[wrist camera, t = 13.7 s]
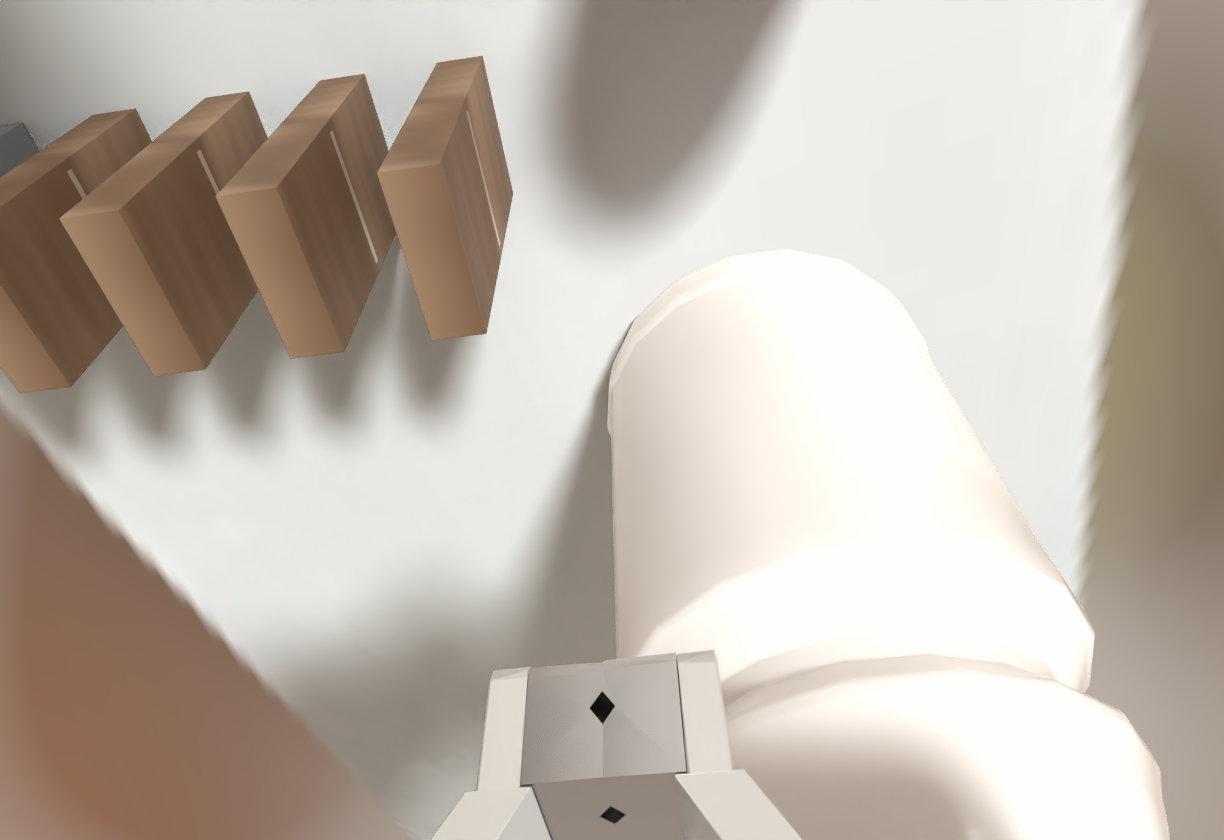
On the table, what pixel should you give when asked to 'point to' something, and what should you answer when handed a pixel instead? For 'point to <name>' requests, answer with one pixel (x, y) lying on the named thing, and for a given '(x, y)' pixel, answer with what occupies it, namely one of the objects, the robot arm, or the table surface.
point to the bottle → (854, 570)
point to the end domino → (15, 147)
